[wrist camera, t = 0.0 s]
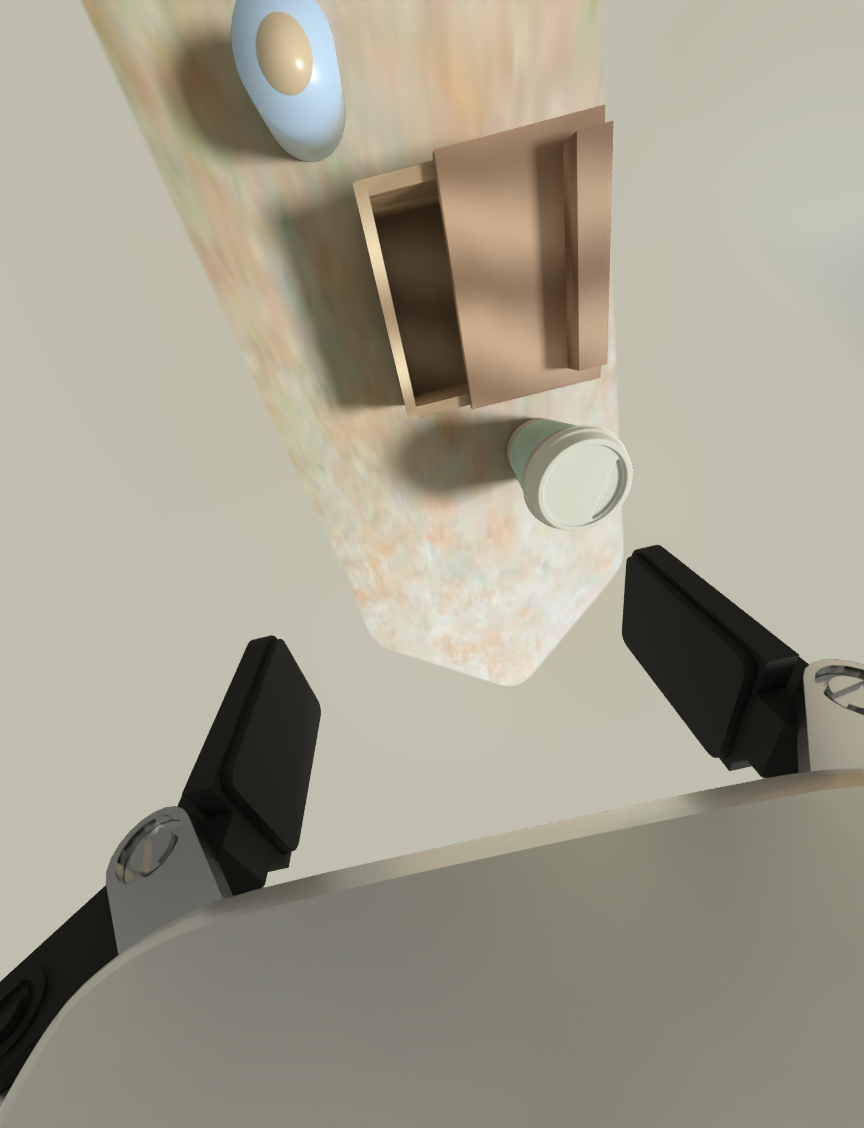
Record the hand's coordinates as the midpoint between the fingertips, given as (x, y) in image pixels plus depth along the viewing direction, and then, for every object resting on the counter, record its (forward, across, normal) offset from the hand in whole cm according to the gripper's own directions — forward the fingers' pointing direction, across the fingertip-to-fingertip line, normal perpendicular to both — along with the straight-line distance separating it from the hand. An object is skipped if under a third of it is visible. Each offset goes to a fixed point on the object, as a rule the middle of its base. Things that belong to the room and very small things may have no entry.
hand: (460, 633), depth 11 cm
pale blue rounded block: (+31, +2, -21) cm, 38 cm away
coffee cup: (+31, -12, +6) cm, 34 cm away
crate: (+31, -5, -8) cm, 33 cm away
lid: (+24, -10, -8) cm, 27 cm away
